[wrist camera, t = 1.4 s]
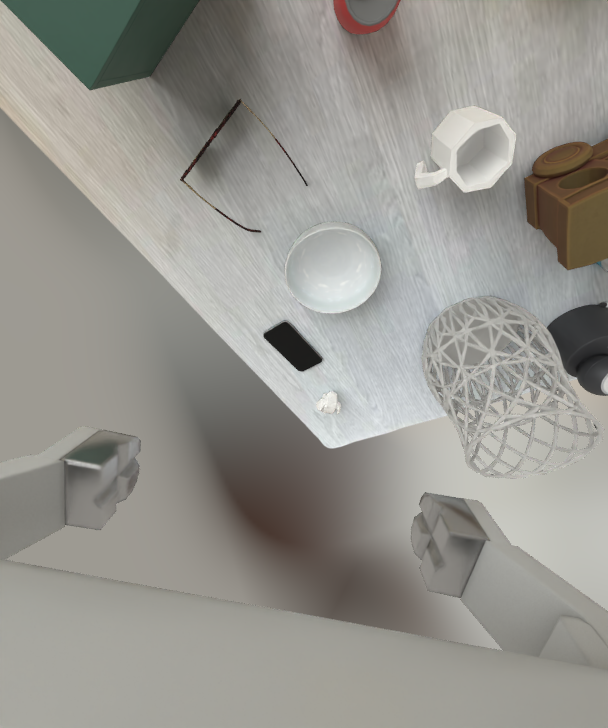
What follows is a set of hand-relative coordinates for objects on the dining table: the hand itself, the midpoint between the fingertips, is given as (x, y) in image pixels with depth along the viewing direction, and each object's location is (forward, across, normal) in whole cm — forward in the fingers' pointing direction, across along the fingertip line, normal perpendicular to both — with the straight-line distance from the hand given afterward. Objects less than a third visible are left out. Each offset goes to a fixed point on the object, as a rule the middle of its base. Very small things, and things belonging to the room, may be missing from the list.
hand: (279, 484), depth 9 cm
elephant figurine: (+78, -10, +26) cm, 83 cm away
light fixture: (+67, -59, -4) cm, 90 cm away
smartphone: (+69, +2, +13) cm, 70 cm away
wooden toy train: (+52, -38, -29) cm, 70 cm away
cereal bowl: (+58, -2, -9) cm, 59 cm away
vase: (+68, -37, +1) cm, 77 cm away
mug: (+50, -16, -27) cm, 59 cm away
